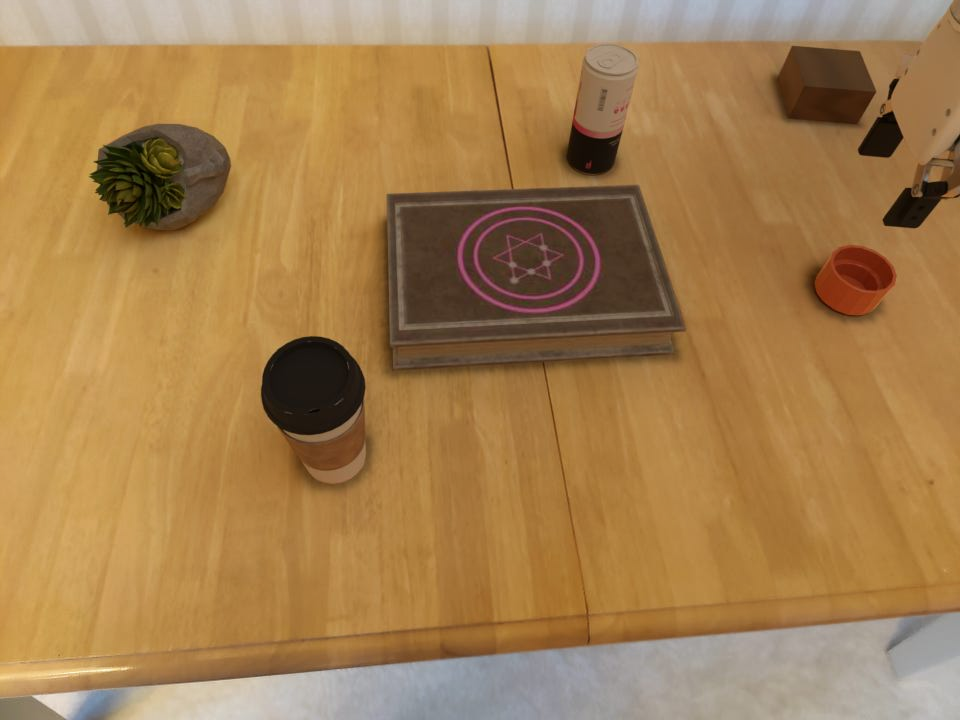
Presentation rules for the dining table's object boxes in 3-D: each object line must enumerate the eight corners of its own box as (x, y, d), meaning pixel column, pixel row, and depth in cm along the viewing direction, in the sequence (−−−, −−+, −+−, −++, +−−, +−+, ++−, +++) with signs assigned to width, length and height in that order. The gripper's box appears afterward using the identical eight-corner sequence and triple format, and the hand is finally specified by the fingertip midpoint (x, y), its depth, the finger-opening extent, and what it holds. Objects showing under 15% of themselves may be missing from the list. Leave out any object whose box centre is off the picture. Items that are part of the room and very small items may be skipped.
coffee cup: (297, 506, 62) (258, 430, 50) (287, 428, 66) (249, 340, 54) (386, 485, 63) (370, 405, 51) (370, 410, 68) (352, 320, 56)
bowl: (867, 273, 81) (887, 247, 77) (882, 320, 77) (904, 295, 73) (807, 268, 81) (824, 242, 77) (819, 315, 77) (837, 289, 73)
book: (393, 371, 71) (389, 344, 66) (389, 221, 83) (386, 190, 79) (673, 355, 73) (686, 328, 69) (629, 211, 85) (638, 181, 81)
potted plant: (257, 170, 82) (192, 228, 71) (196, 217, 89) (128, 276, 77) (182, 84, 77) (100, 131, 66) (124, 140, 84) (40, 192, 72)
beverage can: (556, 160, 91) (572, 56, 78) (586, 138, 93) (607, 35, 81) (593, 184, 88) (616, 81, 76) (623, 161, 91) (651, 59, 78)
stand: (842, 84, 103) (860, 50, 98) (856, 125, 97) (876, 91, 93) (776, 79, 103) (791, 45, 98) (787, 119, 97) (804, 85, 93)
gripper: (1115, 82, 44) (953, 259, 58) (1020, -45, 54) (901, 133, 68) (1000, 72, 44) (867, 251, 58) (926, -53, 54) (827, 127, 68)
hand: (885, 188), depth 63 cm, fingers open, 9 cm apart
